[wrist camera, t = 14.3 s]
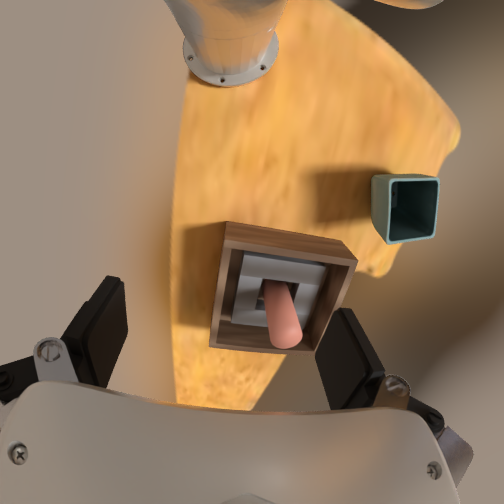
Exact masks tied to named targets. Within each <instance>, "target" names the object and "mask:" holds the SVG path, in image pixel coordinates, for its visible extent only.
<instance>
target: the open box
mask: <svg viewBox="0 0 504 504" xmlns="http://www.w3.org/2000/svg"><path fill="white" fill-rule="evenodd" d="M357 263H358V260H357V258H356V257H355V256H354V255H353V254H352V253H351V251H350V250H349V249H348V248H347V247H346V246H345V245H344V243H343V242H342V241H340V240H335V239H329V238H324V237H318V236H313V235H307V234H301V233H296V232H290V231H284V230H278V229H273V228H267V227H261V226H254V225H248V224H242V223H236V222H229V221H226V227H225V233H224V239H223V245H222V252H221V258H220V264H219V271H218V277H217V284H216V291H215V297H214V304H213V311H212V319H211V329H210V339H209V347H212V348H220V349H229V350H238V351H248V352H260V353H273V354H289V355H313V356H315V352H316V350H317V348H318V346H319V343H320V341H321V339H322V337H323V335H324V332H325V330H326V328H327V326H328V323H329V321H330V319H331V316H332V314H333V312H334V311H335V310H337V309H338V308H340V306H341V304H342V301H343V299H344V297H345V294H346V291H347V289H348V287H349V284H350V282H351V279H352V276H353V274H354V271H355V269H356V266H357ZM265 279H272V280H279V281H286V283H287V286H288V289H289V292H290V295H291V298H292V301H293V305H294V308H295V311H296V314H297V317H298V321H299V324H300V327H301V330H302V339H301V341H300V342H299V343H298V344H297V345H295V346H293V347H291V348H287V349H281V348H277V347H275V346H274V345H272V343H271V341H270V335H269V329H268V323H267V317H266V311H265V305H264V299H263V293H262V283H263V281H264V280H265Z"/></svg>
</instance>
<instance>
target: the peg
mask: <svg viewBox="0 0 504 504" xmlns="http://www.w3.org/2000/svg"><path fill="white" fill-rule="evenodd" d="M262 293H263V299H264V305H265V311H266V317H267V323H268V329H269V335H270V341H271V343H272V345H274V346H275V347H277V348H281V349H287V348H291V347H293V346H295V345H297V344H298V343H299V342H300V341H301V339H302V330H301V327H300V324H299V321H298V317H297V314H296V311H295V308H294V305H293V301H292V298H291V295H290V292H289V289H288V286H287V283H286V281H279V280H272V279H265V280H264V281H263V283H262Z"/></svg>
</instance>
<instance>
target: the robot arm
mask: <svg viewBox="0 0 504 504" xmlns="http://www.w3.org/2000/svg"><path fill="white" fill-rule="evenodd" d="M164 1H165V3H166V4H167V6H168V7H169V9H170V10H171V12H172V14H173V15H174V17H175V19H176V21H177V23H178V24H179V26H180V28H181V30H182V32H183V33H184V35H185V39H184V43H183V55H184V58H185V62H186V63H187V65H188V67H189V68H190V70H191V71H192V72H193V73H194V74H195V75H196V76H197V77H198V78H200V79H202V80H203V81H205V82H207V83H210V84H213V85H216V86H222V87H236V86H242V85H245V84H249V83H251V82H253V81H255V80H257V79H259V78H260V77H262V76H263V75H264V74H266V73H267V71H268V70H269V69H270V68H271V67H272V65H273V64H274V62H275V60H276V58H277V54H278V50H279V41H278V38H277V34H276V32H275V29H276V26H277V24H278V22H279V20H280V17H281V15H282V13H283V10H284V8H285V6H286V4H287V0H164ZM376 1H379V2H383V3H386V4H389V5H393V6H397V7H402V8H408V9H423V8H428V7H432V6H434V5H436V4H438V3H440V2H442V1H443V0H376ZM191 58H193V60H192V61H190V59H191ZM261 67H263V68H264V70H261V69H260V68H261ZM221 80H224V82H220V81H221ZM127 334H128V325H127V315H126V304H125V290H124V283H123V282H122V281H121V280H120V278H118V277H114V276H106V277H105V279H104V280H103V282H102V283H101V284H100V286H99V287H98V288H97V290H96V291H95V293H94V294H93V295H92V297H91V298H90V299H89V301H86V302H85V303H84V304H83V306H82V307H81V309H80V310H79V311H78V313H77V314H76V316H75V317H74V319H73V320H72V321H71V323H70V325H69V326H68V327H67V329H66V330H65V332H64V334H63V335H62V337H61V338H60V339H58V338H54V337H49V338H45V339H42V340H41V341H39V342H38V343H37V344H36V345H35V347H34V350H33V356H30V357H27V358H24V359H21V360H17V361H14V362H11V363H8V364H5V365H1V366H0V504H460V500H459V497H458V493H457V490H456V488H457V486H458V484H459V483H460V481H461V479H462V477H463V476H464V474H465V472H466V470H467V468H468V467H469V465H470V463H471V461H472V459H473V450H472V447H471V446H470V445H469V444H468V443H467V442H466V441H464V440H463V439H462V438H461V437H460V436H459V435H458V434H457V433H455V432H454V431H453V430H452V429H451V428H450V427H449V426H447V427H446V428H445V427H444V418H443V416H442V415H441V414H440V413H439V412H438V411H437V410H435V409H433V408H432V407H430V406H428V405H426V404H424V403H422V402H420V401H418V400H417V399H415V398H413V397H411V396H410V392H411V389H410V386H409V384H408V383H407V382H406V381H405V380H404V379H403V378H401V377H400V376H397V375H387V376H385V374H384V372H385V369H384V367H383V365H382V363H381V361H380V360H379V358H378V356H377V354H376V352H375V350H374V348H373V347H372V345H371V344H370V341H369V340H368V337H367V336H366V334H365V332H364V330H363V328H362V327H361V325H360V323H359V322H358V320H357V318H356V316H355V314H354V313H353V311H352V309H350V308H338V309H337V310H335V311H334V312H333V314H332V316H331V319H330V321H329V323H328V326H327V328H326V330H325V332H324V335H323V337H322V339H321V341H320V343H319V346H318V348H317V350H316V352H315V360H316V363H317V366H318V370H319V372H320V376H321V379H322V383H323V386H324V389H325V392H326V396H327V399H328V402H329V406H330V409H331V410H328V411H308V412H307V411H306V412H265V411H263V412H262V411H243V410H229V409H218V408H208V407H200V406H192V405H185V404H178V403H172V402H166V401H160V400H155V399H149V398H145V397H140V396H135V395H130V394H126V393H122V392H118V391H114V390H110V389H106V387H107V385H108V382H109V379H110V377H111V374H112V371H113V369H114V366H115V364H116V361H117V359H118V356H119V354H120V352H121V349H122V347H123V344H124V342H125V340H126V337H127Z"/></svg>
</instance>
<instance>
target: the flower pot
mask: <svg viewBox="0 0 504 504" xmlns="http://www.w3.org/2000/svg"><path fill="white" fill-rule="evenodd" d="M439 189H440V180H439V178H438V177H433V176H427V175H422V174H386V175H374V176H373V177H372V178H371V219H372V223H373V225H374V227H375V229H376V230H377V232H378V233H379V234H380V236H381V237H382V238H383V240H384V241H385V242H386V244H388V245H391V244H397V243H403V242H409V241H416V240H422V239H430V238H433V237H434V235H435V230H436V222H437V211H438V200H439ZM392 192H394V195H392Z"/></svg>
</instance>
